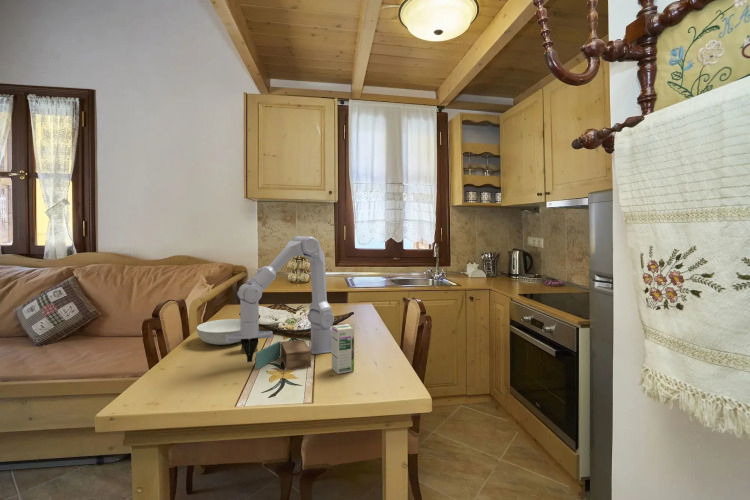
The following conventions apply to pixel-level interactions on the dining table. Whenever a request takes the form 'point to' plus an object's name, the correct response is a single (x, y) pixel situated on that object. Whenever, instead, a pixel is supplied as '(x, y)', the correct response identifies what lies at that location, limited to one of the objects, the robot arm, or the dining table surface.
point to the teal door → (268, 354)
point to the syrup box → (343, 348)
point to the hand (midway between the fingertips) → (249, 361)
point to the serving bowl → (218, 331)
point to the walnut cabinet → (295, 354)
